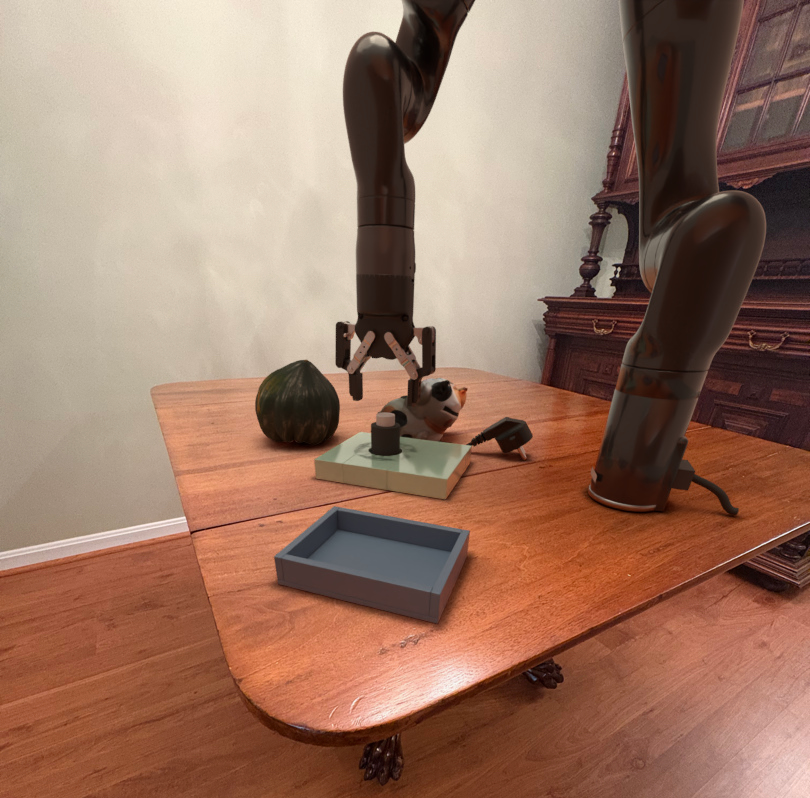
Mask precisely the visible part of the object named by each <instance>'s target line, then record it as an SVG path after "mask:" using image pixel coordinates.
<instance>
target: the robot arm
mask: <svg viewBox="0 0 810 798" xmlns="http://www.w3.org/2000/svg"><path fill="white" fill-rule="evenodd" d="M475 3H476V0H401V4H402V19H401V22H400V25H399V28H398V32H397V35H396V39H395V41H394V40H393V39H392V38H391V37H389V36H388V35H386V34H385V33H383V32H380V31H368V32H366V33H364V34H363V35H361V36H360V37H358V38H357V40H356V41H355V42H354V44H353V46H352V47H351V49H350V51H349V53H348V56H347V59H346V62H345V65H344V72H343V79H342V108H343V115H344V116H343V117H344V123H345V129H346V135H347V140H348V147H349V152H350V153H349V154H350V158H351V163H352V168H353V172H354V177H355V182H356V227H357V228H356V241H355V285H356V286H355V291H356V292H355V293H356V314H357V319H356V323H351V322H350V321H348V320H343V321H337V322H336V323H335V358H334V359H335V361H334V363H335V366H336V367H337V368H338V369H342V370H344V371H346V372H347V374H348V393H349V396H350V397H351V398H352V401H354V402H359V401H361V400H363V397H364V382H363V381H364V380H363V379H364V378H363V376H364V375H363V372H361V371H362V369H363V368H364V367H365V366H366V363H367V362H368V361H369V360H370V359H371V358H372V359H377V360H378V359H381V358H383V359H385V360H389V361H392V360H394V361H395V360H397V361H398V362H399V364H400V366H401V367H403V368H404V370H405V371H406V373H407V375H408V377H409V379H408V380H407V395H406V396H407V406H408V407H414V406H415V405H416V403H418V402H419V400H420V398H421V381H423V380H422V379H423V378H425V377H428V376H431V375H433V374H434V373H436V369H437V368H436V364H437V363H436V362H437V361H436V359H437V329H436V327H435V326H433V325H427V326H424V327H423V326H422V327H421V326H420V327H417V326H416V325H415V323H414V306H415V304H414V303H415V281H416V280H415V278H416V277H415V276H416V272H417V271H416V270H417V263H416V243H415V222H416V221H415V220H416V219H415V218H416V182H415V176H414V175H413V173H412V171H411V169H410V167H409V165H408V163H407V159H406V151H405V149H406V148H405V145H406V144H407V143H409V142H411V141H412V140H413V139H414V138H415V137H416V136H417V135H418V133H420V131H421V130H422V128H423V127H424V125H425V124H426V121H427V119H428V118H429V116H430V114H431V112H432V109H433V107H434V105H435V102H436V99H437V97H438V94H439V91H440V88H441V85H442V82H443V79H444V77H445V73H446V71H447V68H448V65H449V63H450V59H451V56H452V53H453V48H454V46H455V43H456V39H457V37H458V34H459V32H460V30H461V28H462V26H464V24H465V21H466V19H467V18H468V16H469V13H471V10H472V8H473V6H474V4H475ZM744 3H745V0H618V10H619V11H618V12H619V21H620V22H619V23H620V30H621V42H622V49H623V57H624V63H625V64H624V65H625V71H626V79H627V88H628V98H629V107H630V117H631V124H632V132H633V139H634V140H633V141H634V147H635V153H636V161H637V162H636V163H637V173H638V200H639V201H638V202H639V203H638V206H639V207H638V211H639V212H638V213H639V214H638V220H639V221H638V222H639V223H638V232H639V233H638V265H639V273H640V274H639V275H640V277H641V281H642V283H643V285H644V286H645V288H646V289H647V291H648V292H649V293H650V297H649V300H648V304H647V308H646V311H645V314H644V317H643V319H642V321H641V324H640V325H639V327H638V329H637V331H636V332H635V333H634V334H633V335H632V336H631V337H630V338H629V339H628V341H627V343H626V346H625V349H624V352H623V356H622V360H621V364H620V368H619V371H618V376H617V379H616V384H615V387H614V392H613V395H612V399H611V403H610V406H609V411H608V415H607V419H606V422H605V426H604V430H603V434H602V437H601V442H600V446H599V450H598V453H597V457H596V461H595V465H594V467H593V466H591V469H590V476H591V479H590V484H589V485H588V489H587V493H588V496H589V497H590V498H591V499H592V500H594V501H596V502H597V503H600V504H601V505H604V506H606V507H610V508H613V509H617V510H621V511H627V512H638V513H639V512H640V513H642V512H643V513H645V512H646V513H647V512H652V511H653V512H655V511H656V512H664V511H665V508H666V505H667V503H668V500H669V498H670V494H671V493H672V489H673V490H674V489H675V490H681V491H687V492H688V491H689V490H690V486H691V485H692V483H693V484H696V485H698V486H700V487H702V488H704V489H705V490H708V491H709V492H710V493H712V494H713V495H714V496H715V497H716V498H717V499H718V501H719V503H720V506H721V507H722V509H723V510H724V512H726V513H727V514H728V515H731V516H737V515H738V514H739V511H740V509H739V507H734V506H733V505H732V502H731V500H730V498H729V496H728V494H727V493H726V492H725V490H724V489H722V488H721V487H720V486H718V485H717V484H715V483H714V482H712V481H710V480H709V479H706V478H704V477H703V476H700V475H699V474H696V469H695V468H694V467H693V466H692V464H691V463H690V461H689V460H688V459H684V456H685V453H686V450H687V448H688V445H689V438H688V437H687V436H686V434H687V431H688V429H689V426H690V423H691V420H692V417H693V415H694V411H695V409H696V406H697V403H698V401H699V397H700V394H701V392H702V389H703V387H704V383H705V381H706V377H707V375H708V373H709V369H710V367H711V365H712V361H713V359H714V357H715V356H716V354H717V352H718V351H719V350H720V349H721V348H722V347H723V345H724V344H725V342H726V341H727V339H728V338H729V336H730V334H731V332H732V329H733V327H734V325H735V322H736V321H737V318H738V316H739V313H740V310H741V308H742V306H743V303H744V301H745V298H746V297H747V294H748V291H749V288H750V286H751V283H752V281H753V280H754V279H753V278H754V276H755V274H756V271H757V268H758V266H759V262H760V260H761V258H762V253H763V249H764V246H765V241H766V236H767V235H766V234H767V218H766V213H765V210H764V207H763V205H762V204H761V203H760V201H758V199H757V198H756V197H755V196H753V195H752V194H750V193H748V192H746V191H742V190H732V189H731V190H723V191H720V186H719V174H718V173H719V172H718V162H717V161H718V159H717V158H718V157H717V151H718V150H717V149H718V148H717V146H718V145H717V144H718V143H717V140H718V129H719V120H720V115H721V109H722V106H723V102H724V101H723V100H724V96H725V93H726V92H725V91H726V88H727V84H728V79H729V75H730V72H731V68H732V63H733V59H734V55H735V50H736V47H737V46H736V45H737V41H738V37H739V31H740V28H741V27H740V26H741V22H742V16H743V12H744V11H743V9H744ZM355 335H356V337H357V338H358V340H359V342H360V344H359V346H358V348H357V349H356V351H355V352H354V354H353V357H352V356H351V355H352V353H351V351H352V349H351V348H352V339H354V337H355ZM415 338H417V341H418V342H417V343H418V344H419V345H421V365H422V366H420V363H419V362H418V360H417V357H416V355H415V353H414V351H413V350H412V348H411V347H410V344H411V343H412V341H413V340H414V339H415ZM351 357H352V358H351Z"/></svg>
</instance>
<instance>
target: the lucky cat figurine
mask: <svg viewBox="0 0 810 798" xmlns="http://www.w3.org/2000/svg"><path fill="white" fill-rule="evenodd" d="M467 392H468V387H465V386H463V387H461V388H460V387H459V388H458V387H456V385H455V384H454V383H453V381H450V380H449V379H447V378H443V377H437V378H433V377H431V378H426V379H423V380H421V398H420V400H419V402H418V403H416V405H415V406H414V407H408V406H407V395H401V396H400V397H398V398H395V399H393V400H390V401H388V402H387V403H386V404H384V405H383V407H382V408H381V410H380V411H377V413H376V414H378V413H383V412H387V413H393V414H395V422H396V423H399V424H400V437H406V438H414V439H421V440H430V441H438V442H441V439H442V438H443V437H444V434H445V432H446V431H447V429H449V428H451V427H452V426H453V425H454V423H455V422H456V421H457V420H458V418H459V415H460V412H461V410H462V409H463V408H464V406H465V404H466V402H467Z"/></svg>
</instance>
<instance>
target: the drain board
mask: <svg viewBox="0 0 810 798" xmlns="http://www.w3.org/2000/svg"><path fill="white" fill-rule="evenodd" d="M472 449H473V445H472V446H470V445H466V444H463V443H462V444H461V443H454V442H444V441H439V442H438V441H430V440H421V439H414V438H406V437H400V454H398V455H393V456H379V455H374V454H371V432H365V431H360V432H358V433H356V434H354V435H353V436H351V437H349V438H347V439H346V440H344V441H342V442H341V443H339V444H337V445H336V446H334V447H332V448H331V449H328V450H327V451H326V452H324V453H321V455H319V456H317V457H316V458H314V460H313V463H314V474H315V475H314V476H315V479H318V480H323V481H328V482H336V483H340V484H341V483H342V484H347V485H353V486H359V487H366V488H372V489H376V490H377V489H378V490H383V491H391V492H395V493H396V492H397V493H402V494H403V493H404V494H409V495H416V496H421V497H428V498H432V499H440V500H447V499H448V497H449V495H450V494H451V493H452V491H453V490H454V488H455V486H456V485H457V483H458V482H459V480H460V479H461V477H462V476H463V474H464V473H465V471H466V470H467V469H468V467H469V465H470V464H471V457H472Z"/></svg>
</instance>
